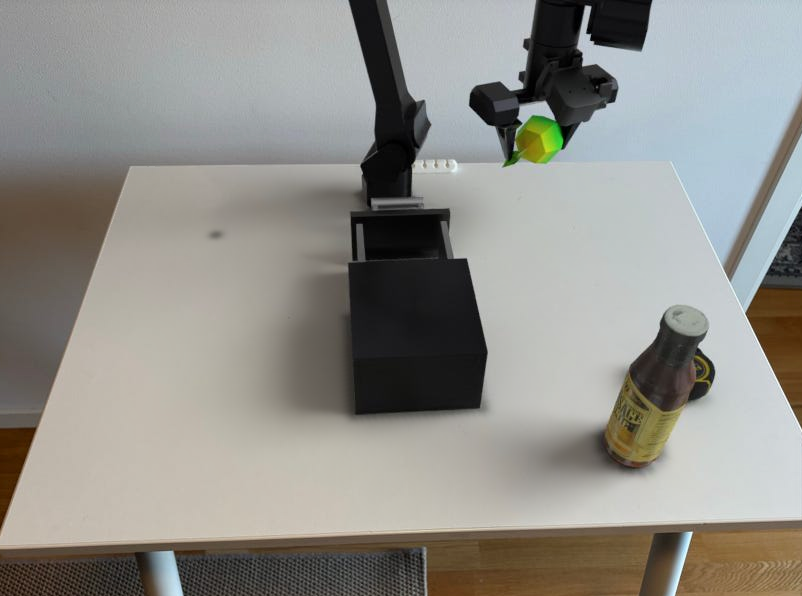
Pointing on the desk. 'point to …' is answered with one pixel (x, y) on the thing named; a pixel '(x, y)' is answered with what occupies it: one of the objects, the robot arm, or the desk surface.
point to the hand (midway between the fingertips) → (534, 154)
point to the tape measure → (702, 375)
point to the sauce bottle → (656, 389)
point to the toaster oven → (415, 336)
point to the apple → (537, 141)
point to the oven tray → (400, 231)
